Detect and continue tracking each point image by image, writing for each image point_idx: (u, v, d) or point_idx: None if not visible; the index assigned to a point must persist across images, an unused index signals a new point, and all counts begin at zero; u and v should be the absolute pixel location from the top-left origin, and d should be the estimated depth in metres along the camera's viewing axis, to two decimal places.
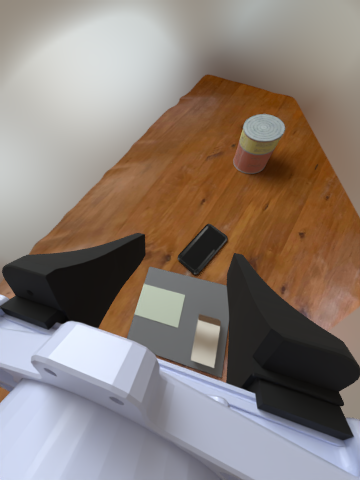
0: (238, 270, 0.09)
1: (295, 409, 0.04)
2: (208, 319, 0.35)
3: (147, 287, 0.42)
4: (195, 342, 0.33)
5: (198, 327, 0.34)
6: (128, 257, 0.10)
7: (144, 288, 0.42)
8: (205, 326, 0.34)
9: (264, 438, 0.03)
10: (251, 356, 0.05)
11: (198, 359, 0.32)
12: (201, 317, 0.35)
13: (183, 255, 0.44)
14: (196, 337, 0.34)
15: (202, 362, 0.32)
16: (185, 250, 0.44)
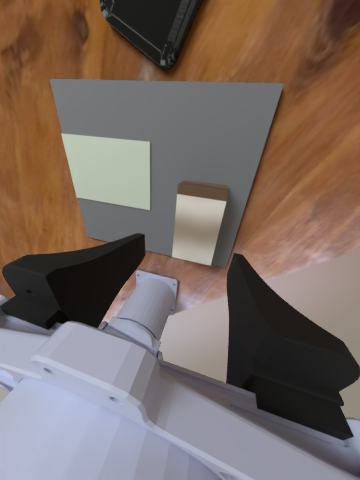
0: (238, 270, 0.09)
1: (295, 409, 0.04)
2: (199, 189, 0.15)
3: (71, 140, 0.19)
4: (176, 233, 0.18)
5: (178, 208, 0.16)
6: (128, 257, 0.10)
7: (68, 144, 0.19)
8: (192, 205, 0.16)
9: (264, 438, 0.03)
10: (251, 356, 0.05)
11: (184, 256, 0.19)
12: (183, 187, 0.15)
13: None
14: (176, 225, 0.17)
15: (190, 259, 0.19)
16: None
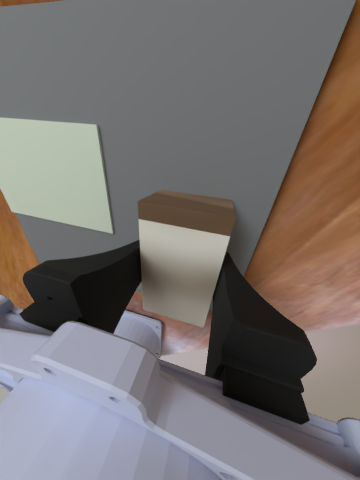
0: (221, 266, 0.09)
1: (257, 395, 0.04)
2: (177, 213, 0.08)
3: None
4: (145, 279, 0.11)
5: (143, 242, 0.09)
6: None
7: None
8: (167, 240, 0.08)
9: (264, 438, 0.03)
10: (221, 346, 0.05)
11: (161, 310, 0.12)
12: (147, 208, 0.08)
13: None
14: (144, 269, 0.10)
15: (172, 316, 0.12)
16: None
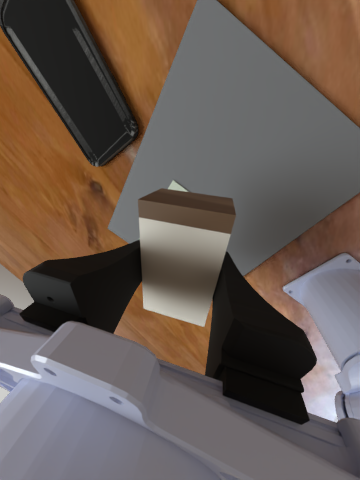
0: None
1: (257, 395, 0.04)
2: (177, 211, 0.08)
3: None
4: (145, 278, 0.11)
5: (144, 240, 0.09)
6: None
7: None
8: (168, 238, 0.08)
9: (264, 438, 0.03)
10: (221, 346, 0.05)
11: (161, 309, 0.12)
12: (147, 206, 0.08)
13: (89, 148, 0.18)
14: (145, 267, 0.10)
15: (172, 315, 0.12)
16: (78, 138, 0.18)
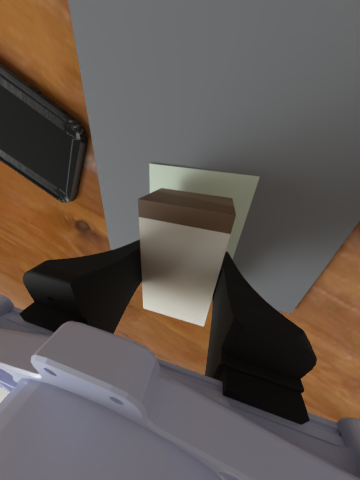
0: None
1: (257, 395, 0.04)
2: (177, 211, 0.08)
3: None
4: (145, 278, 0.11)
5: (143, 240, 0.09)
6: None
7: None
8: (168, 237, 0.08)
9: (264, 438, 0.03)
10: (221, 346, 0.05)
11: (161, 309, 0.12)
12: (147, 206, 0.08)
13: (53, 185, 0.15)
14: (145, 267, 0.10)
15: (172, 315, 0.12)
16: (39, 181, 0.15)
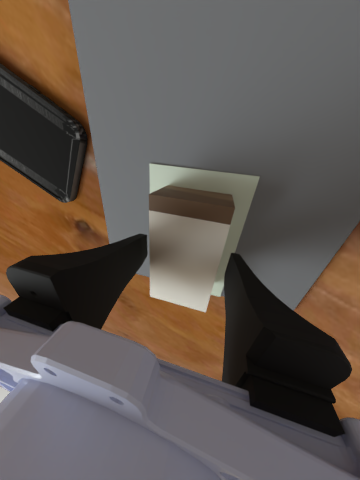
0: (234, 269, 0.09)
1: (287, 406, 0.04)
2: (184, 204, 0.09)
3: None
4: (152, 267, 0.12)
5: (152, 231, 0.10)
6: (131, 258, 0.10)
7: None
8: (174, 229, 0.10)
9: (264, 438, 0.03)
10: (245, 354, 0.05)
11: (166, 296, 0.13)
12: (157, 200, 0.09)
13: (53, 185, 0.15)
14: (152, 256, 0.11)
15: (176, 301, 0.13)
16: (40, 181, 0.15)
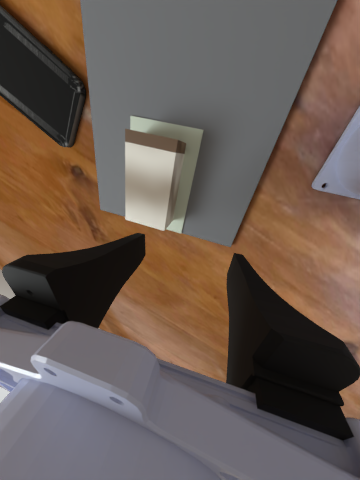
0: (238, 270, 0.09)
1: (295, 409, 0.04)
2: (147, 137, 0.13)
3: None
4: (127, 191, 0.16)
5: (127, 159, 0.15)
6: (128, 257, 0.10)
7: None
8: (141, 157, 0.14)
9: (264, 438, 0.03)
10: (251, 356, 0.05)
11: (137, 218, 0.18)
12: (130, 133, 0.14)
13: (55, 131, 0.19)
14: (127, 181, 0.16)
15: (144, 223, 0.18)
16: (44, 127, 0.19)
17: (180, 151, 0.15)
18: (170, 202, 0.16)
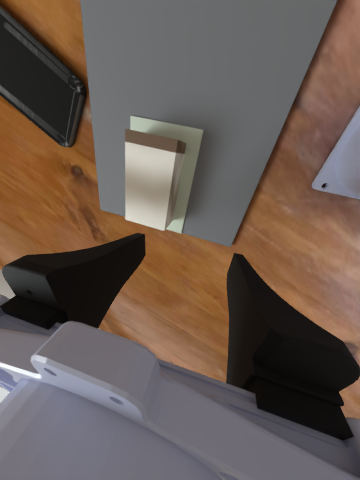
0: (238, 270, 0.09)
1: (295, 409, 0.04)
2: (147, 137, 0.13)
3: None
4: (127, 191, 0.16)
5: (127, 159, 0.15)
6: (128, 257, 0.10)
7: None
8: (141, 157, 0.14)
9: (264, 438, 0.03)
10: (251, 356, 0.05)
11: (137, 218, 0.18)
12: (130, 133, 0.14)
13: (55, 131, 0.19)
14: (127, 181, 0.16)
15: (144, 223, 0.18)
16: (45, 127, 0.19)
17: (180, 151, 0.15)
18: (170, 202, 0.16)
